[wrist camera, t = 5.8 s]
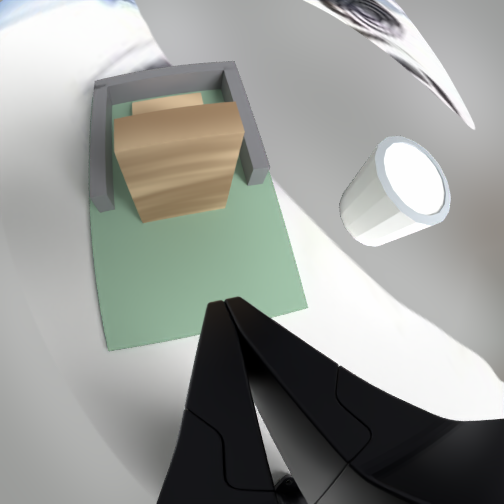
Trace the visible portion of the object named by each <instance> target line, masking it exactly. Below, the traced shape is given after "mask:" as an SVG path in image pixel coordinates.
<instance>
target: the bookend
mask: <svg viewBox="0 0 504 504" xmlns="http://www.w3.org/2000/svg"><path fill="white" fill-rule="evenodd" d="M132 113H133V115H132V116H127V117H122V118H117V119H114V152H115V155H116V158H117V160H118V163H119V166H120V168H121V171H122V174H123V176H124V179H125V181H126V184H127V186H128V189H129V191H130V194H131V196H132V199H133V201H134V204H135V206H136V208H137V211H138V213H139V215H140V218H141V220H142V222H143V223H147V222H152V221H157V220H162V219H167V218H173V217H178V216H183V215H189V214H195V213H200V212H206V211H212V210H218V209H223V208H225V207H226V203H227V199H228V195H229V191H230V187H231V183H232V179H233V175H234V171H235V167H236V163H237V159H238V155H239V152H240V148H241V144H242V140H243V137H244V133H245V131H244V127H243V124H242V121H241V118H240V114H239V111H238V108H237V105H236V101H235V102H223V103H212V104H203V100H202V96H201V93H192V94H184V95H177V96H169V97H163V98H157V99H151V100H145V101H139V102H134V103H132Z"/></svg>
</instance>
